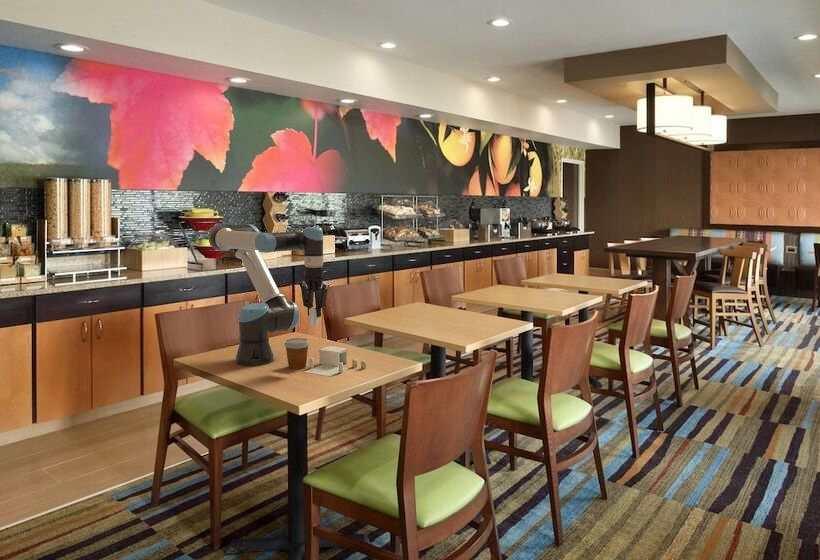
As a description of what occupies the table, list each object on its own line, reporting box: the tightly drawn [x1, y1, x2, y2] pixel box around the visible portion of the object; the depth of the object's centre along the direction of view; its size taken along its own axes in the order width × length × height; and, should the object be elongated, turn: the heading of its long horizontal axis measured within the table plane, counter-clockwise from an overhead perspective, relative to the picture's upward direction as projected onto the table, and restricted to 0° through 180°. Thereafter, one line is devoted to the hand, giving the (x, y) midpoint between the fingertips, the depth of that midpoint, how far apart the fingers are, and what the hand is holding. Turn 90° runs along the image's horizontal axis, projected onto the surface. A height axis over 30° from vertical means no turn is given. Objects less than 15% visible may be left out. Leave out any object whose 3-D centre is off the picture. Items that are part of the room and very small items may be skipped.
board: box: [304, 357, 367, 377], centre depth 244 cm, size 21×19×5 cm
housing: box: [319, 345, 349, 367], centre depth 251 cm, size 9×7×6 cm
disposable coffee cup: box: [284, 337, 310, 370], centre depth 246 cm, size 10×10×12 cm
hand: (314, 324), depth 254 cm, fingers open, 2 cm apart
